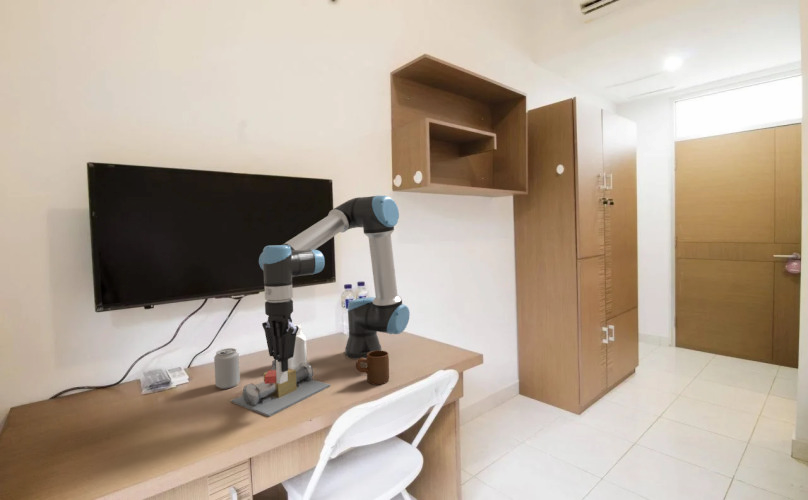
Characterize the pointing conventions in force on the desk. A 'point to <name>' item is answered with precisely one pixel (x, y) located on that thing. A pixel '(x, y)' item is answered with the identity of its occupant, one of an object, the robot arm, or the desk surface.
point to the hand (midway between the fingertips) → (282, 381)
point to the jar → (298, 350)
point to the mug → (375, 367)
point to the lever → (271, 375)
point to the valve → (277, 385)
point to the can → (227, 368)
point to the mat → (284, 398)
